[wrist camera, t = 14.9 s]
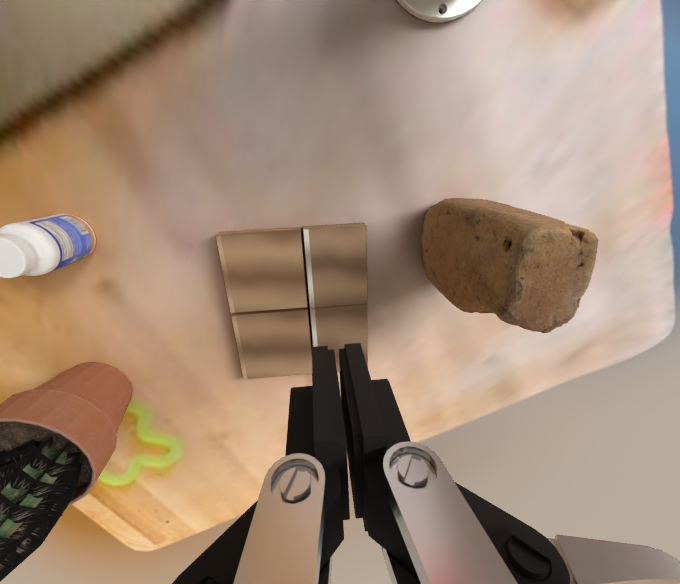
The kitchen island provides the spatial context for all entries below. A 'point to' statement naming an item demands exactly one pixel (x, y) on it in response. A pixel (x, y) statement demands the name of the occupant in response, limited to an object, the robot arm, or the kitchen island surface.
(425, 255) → the block
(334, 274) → the laid board
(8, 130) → the kitchen island surface
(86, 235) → the pill bottle
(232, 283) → the plank
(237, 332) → the plank
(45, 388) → the potted plant
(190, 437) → the kitchen island surface
